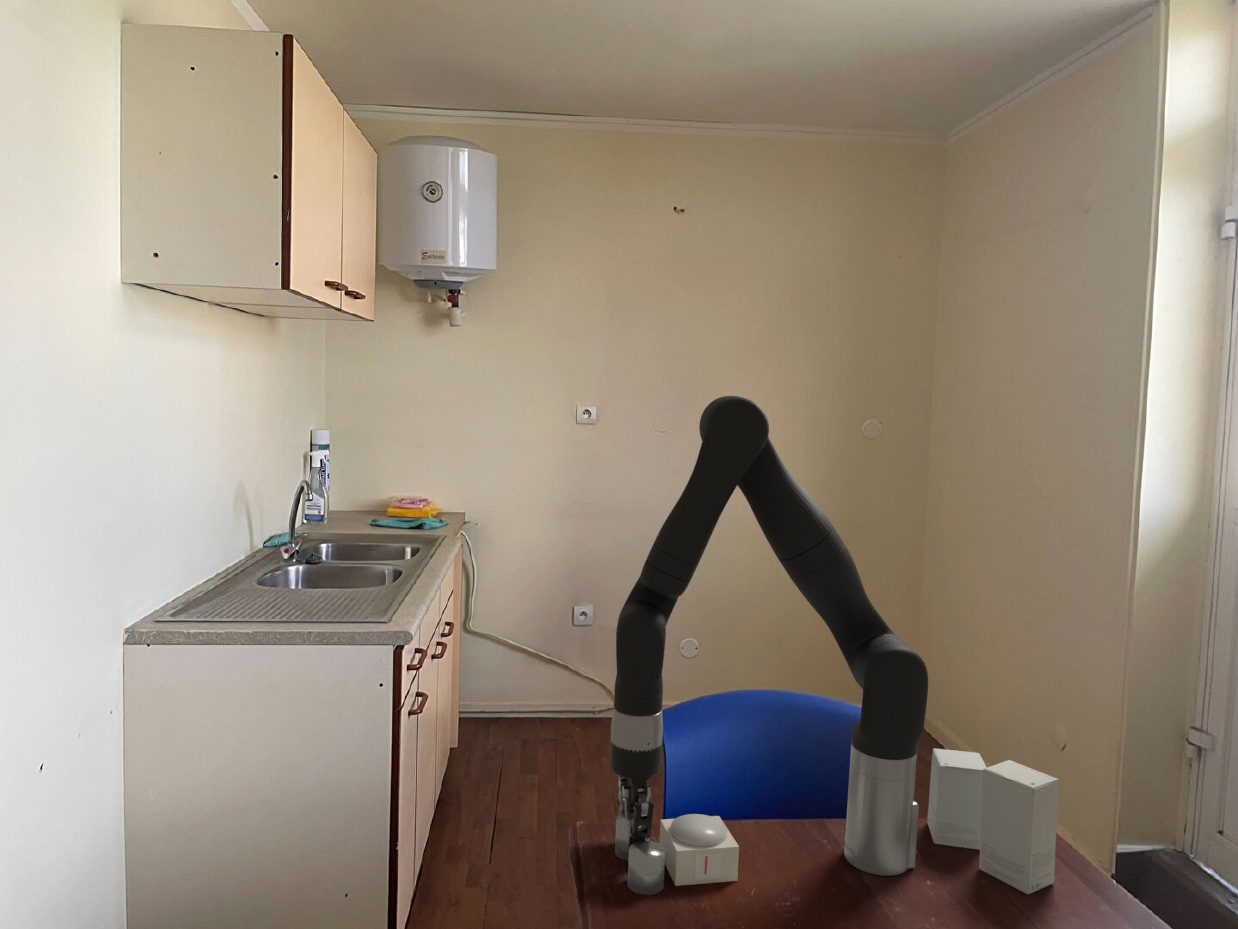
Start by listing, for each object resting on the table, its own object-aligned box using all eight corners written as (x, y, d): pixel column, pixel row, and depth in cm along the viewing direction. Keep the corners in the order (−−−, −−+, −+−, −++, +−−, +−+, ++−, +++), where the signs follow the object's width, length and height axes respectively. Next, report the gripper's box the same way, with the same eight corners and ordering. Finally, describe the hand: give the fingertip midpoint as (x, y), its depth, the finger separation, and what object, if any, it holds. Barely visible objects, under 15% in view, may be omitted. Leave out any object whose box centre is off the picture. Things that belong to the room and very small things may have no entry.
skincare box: (1054, 885, 127) (1063, 780, 126) (1026, 897, 124) (1035, 789, 122) (1002, 857, 134) (1010, 757, 133) (974, 868, 131) (982, 766, 129)
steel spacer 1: (644, 842, 134) (645, 810, 134) (652, 860, 130) (653, 827, 129) (611, 845, 133) (613, 812, 133) (618, 862, 128) (620, 829, 128)
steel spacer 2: (658, 873, 126) (660, 839, 126) (667, 893, 121) (669, 858, 121) (623, 876, 125) (625, 842, 125) (631, 896, 120) (633, 861, 120)
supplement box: (983, 851, 136) (990, 771, 135) (932, 844, 137) (938, 765, 136) (974, 828, 143) (980, 752, 142) (926, 822, 144) (931, 746, 143)
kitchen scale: (717, 848, 134) (719, 810, 133) (738, 882, 125) (740, 842, 124) (659, 852, 132) (660, 814, 131) (676, 887, 123) (677, 847, 122)
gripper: (674, 757, 124) (668, 874, 125) (649, 718, 138) (645, 824, 139) (621, 759, 122) (616, 878, 124) (602, 720, 136) (597, 827, 138)
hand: (631, 849), depth 131 cm, fingers closed on steel spacer 1, 5 cm apart
